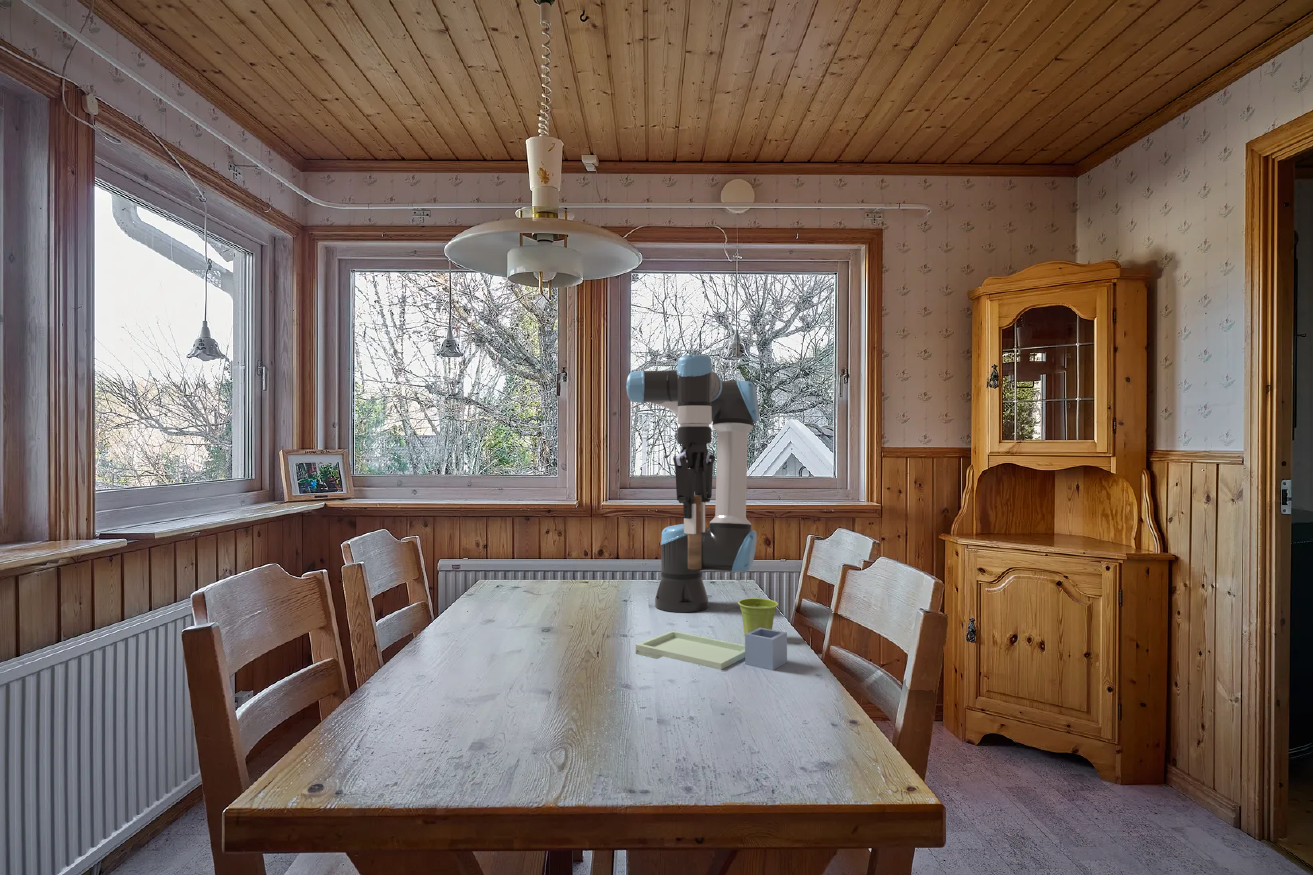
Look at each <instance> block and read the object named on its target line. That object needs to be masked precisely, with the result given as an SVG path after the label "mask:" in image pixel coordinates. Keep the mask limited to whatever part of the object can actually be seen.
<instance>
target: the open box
mask: <svg viewBox="0 0 1313 875" xmlns="http://www.w3.org/2000/svg"><path fill="white" fill-rule="evenodd" d="M744 645H745V658H744V664H745V666H750V667H755V668H759V669H763V670H769V671H772V672H773V671H775V670H777V669H779V668H780V667H781V666H783V665H785V664H787V663H788V632H786V631H782V630H781V631H780V630H776V629H772V630H770V629H765V628H758V629H756V630H753V631H751V632H749V633H747V634H745V635H744Z"/></svg>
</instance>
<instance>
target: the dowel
mask: <svg viewBox="0 0 1313 875" xmlns="http://www.w3.org/2000/svg"><path fill="white" fill-rule="evenodd" d="M693 504H696V534H688V569H694V570H696V569H701V495H695V494H694V502H693Z"/></svg>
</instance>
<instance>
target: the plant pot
mask: <svg viewBox="0 0 1313 875" xmlns="http://www.w3.org/2000/svg"><path fill="white" fill-rule="evenodd" d="M737 603H738V606H739V609H740V611H741V617H742V623H743V624H742V625H743V633H744V636H745V634H747V633H749V632H751V631H753V630H756V629H758V628H765V629H770V630H773V625H774V619H775V614H776V610H777V608H778V606H779V603H778V601H776V600H772V599H768V598H761V597H755V598H753V597H751V598H744V599H740V600H738V602H737Z"/></svg>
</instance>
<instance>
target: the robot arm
mask: <svg viewBox="0 0 1313 875" xmlns="http://www.w3.org/2000/svg"><path fill="white" fill-rule="evenodd" d="M756 390H757V389H756V388H755V385H754V383H753V382H752V381H748V380H738V379H737V380H724V381H723V380H721V378H720V376H719V375H718V373H716V372H715V371H713V366H712V359H711V357H710V356H708V355H704V354H686V355H681V356H679V357H678V359H677V369H670V370H643V369H642V370H638V371H631V372H630V373H629V374H628V376H627V378H626V394H627V398H628V399H629V401H630V402H632V403H640V404H642V403H651V404H654V405H658V406H661V407H663V408H666V409H668V410H669V411H670V412H671V413H672V414H674V415H676V416H677V425H680V426H678V428H677V443H678V444H680V445H681V449H680V454H679V455H674V456H673V458H672V461H673V463H674V464H673V465H674V470H675V471H674V474H675V487H676V492H675V493H676V501H678V503H679V504H683V505H682V506H683V514H682V515H683V523H680V524H674V525H668V526H666V527H665V528H663V529H662V531H661V541H660V554H661V555H660V561H661V563H660V564H661V565H660V567H661V568H660V574H661V575H660V582H659V585H658V587H657V592H656V595H655V598H654V606H655V607H656V609H659V610H661V611H666V612H674V613H689V612H690V613H691V612H699V611H700V612H701V611H703V610H707V608H709V596H708V594H707V590H706V587H705V584H704V581H703V571H711V572H724V573H725V572H730V573H745V572H746V573H747V572H748V571H750V570H751V568H752V567H753V563H754V561H755V560H754V559H755V554H756V549H757V548H756V547H757V542H758V541H757V539H758V538H757V537H758V534H757V531H756V530H755V529H752V523H751V521H749V519H748V518H747V488H748V487H747V479H748V478H747V476H748V438H749V437H748V436H749V433H750V432H751V430H753V428H754V422H755V423H756V422H759V420H760V408H759V400H758V395H757V391H756ZM710 425H712V428H713V429H714V430H715V431H716V433H717V440H716V442H717V447H716V457H715V455H714V454H710V453H709V449H708V444H711V443H712V434H713V433H712V431H713V430H712V428H711V426H710ZM715 458H716V477H715V478H716V479H715V480H716V481H715V483H716V484H715V485H716V486H715V509H714V511H715V514H714V517H713V519H712V520H710V521H709V528H706V503H709V502H711V499H712V492H713V476H714V475H713V474H714V473H713V471H714V464H715ZM694 495H701V569H696V570H694V569H688V534H696V504H693V502H694Z"/></svg>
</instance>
